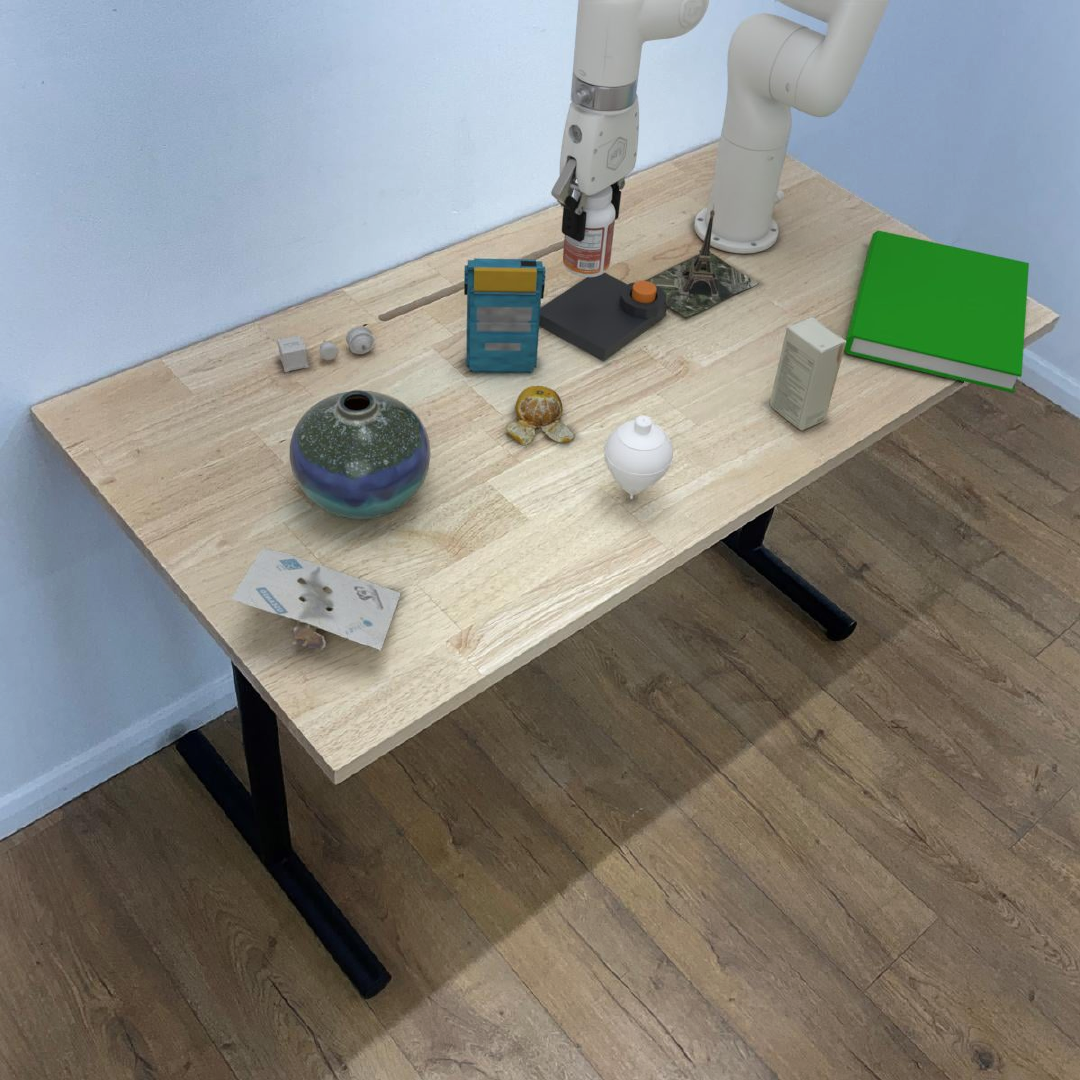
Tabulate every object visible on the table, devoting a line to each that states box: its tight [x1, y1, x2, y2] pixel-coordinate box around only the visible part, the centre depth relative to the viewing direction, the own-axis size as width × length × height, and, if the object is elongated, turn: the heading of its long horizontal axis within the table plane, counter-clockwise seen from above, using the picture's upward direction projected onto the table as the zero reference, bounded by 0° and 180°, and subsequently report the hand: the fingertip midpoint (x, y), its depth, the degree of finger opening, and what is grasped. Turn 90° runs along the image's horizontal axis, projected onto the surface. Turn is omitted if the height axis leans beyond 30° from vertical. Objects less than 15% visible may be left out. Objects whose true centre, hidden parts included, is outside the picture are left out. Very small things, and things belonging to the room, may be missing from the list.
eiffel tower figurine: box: [644, 206, 759, 318], centre depth 161 cm, size 15×10×13 cm
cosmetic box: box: [769, 316, 846, 431], centre depth 143 cm, size 6×4×12 cm
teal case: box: [463, 257, 547, 374], centre depth 145 cm, size 10×4×15 cm, turn 93°
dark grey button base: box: [539, 272, 669, 362], centre depth 158 cm, size 15×12×4 cm
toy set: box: [276, 325, 375, 374], centre depth 149 cm, size 12×3×4 cm
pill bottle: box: [562, 186, 616, 278], centre depth 148 cm, size 6×6×11 cm
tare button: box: [632, 280, 657, 303], centre depth 157 cm, size 3×3×2 cm
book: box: [844, 230, 1030, 394], centre depth 163 cm, size 22×28×3 cm
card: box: [230, 546, 402, 652], centre depth 119 cm, size 11×15×5 cm
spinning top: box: [603, 414, 674, 500], centre depth 131 cm, size 8×8×12 cm
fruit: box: [505, 385, 576, 446], centre depth 142 cm, size 8×8×4 cm
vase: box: [289, 389, 432, 520], centre depth 128 cm, size 15×15×13 cm
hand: (590, 225), depth 147 cm, fingers closed on pill bottle, 6 cm apart
